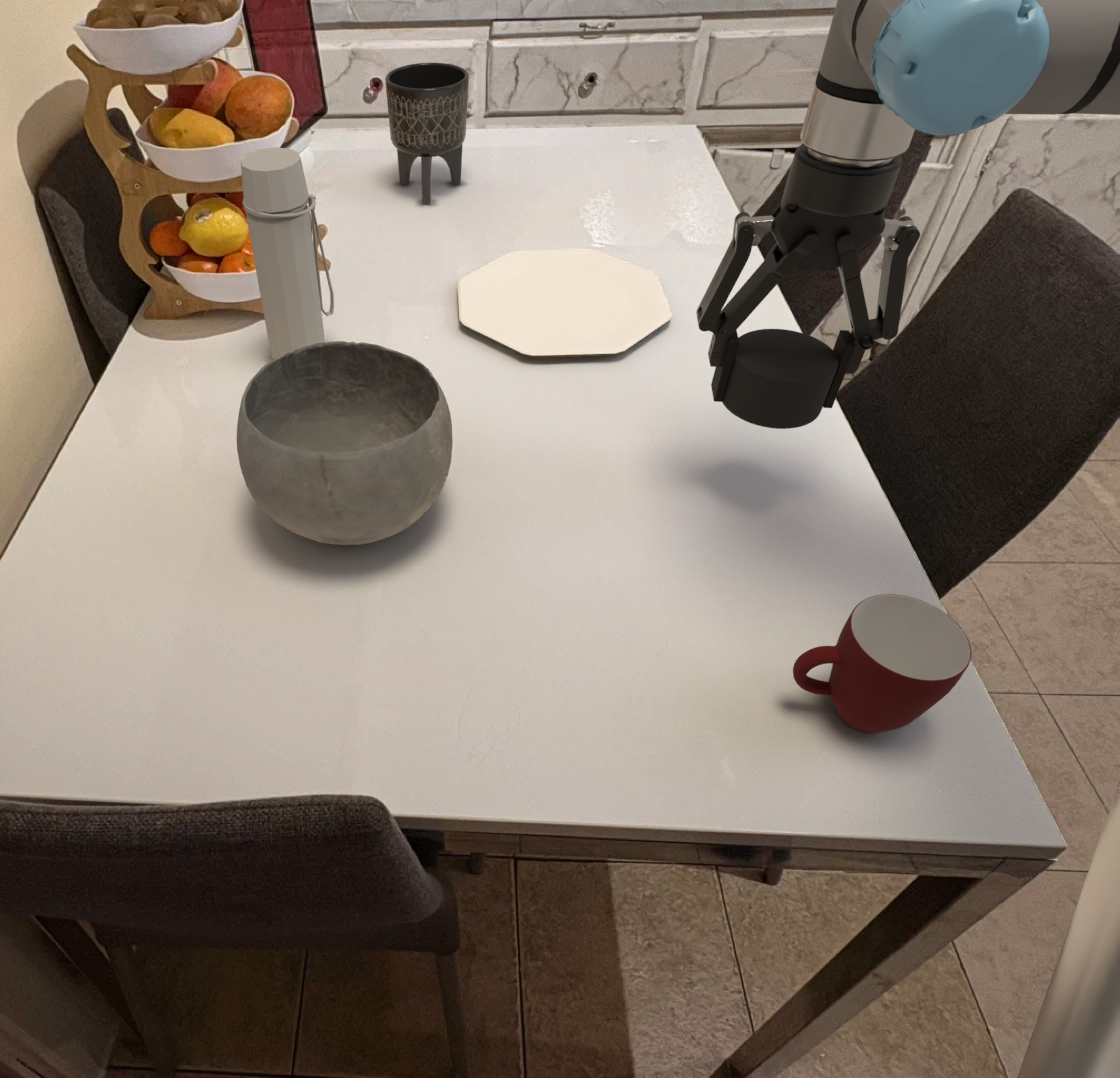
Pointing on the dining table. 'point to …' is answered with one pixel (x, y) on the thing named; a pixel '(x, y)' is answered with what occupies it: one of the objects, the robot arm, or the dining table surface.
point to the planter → (428, 118)
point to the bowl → (344, 441)
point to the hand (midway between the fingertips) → (770, 396)
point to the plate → (562, 302)
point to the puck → (779, 378)
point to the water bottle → (284, 248)
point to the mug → (888, 662)
